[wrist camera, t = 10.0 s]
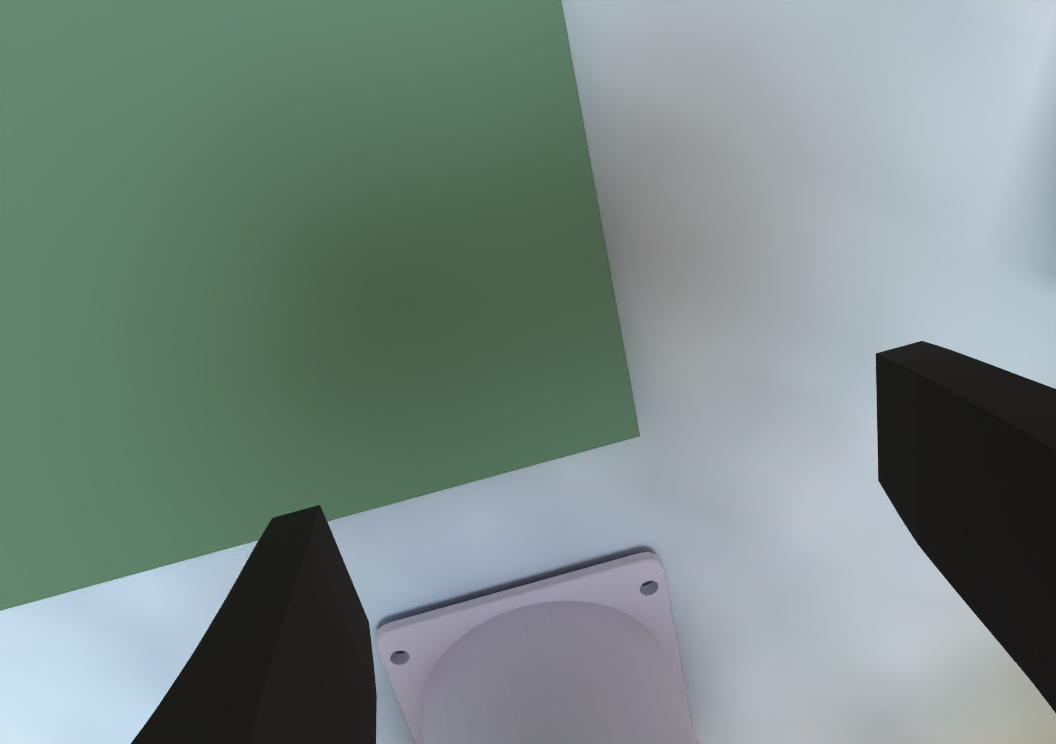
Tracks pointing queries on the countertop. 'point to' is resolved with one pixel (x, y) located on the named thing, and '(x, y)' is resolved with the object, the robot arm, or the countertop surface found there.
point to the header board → (285, 269)
